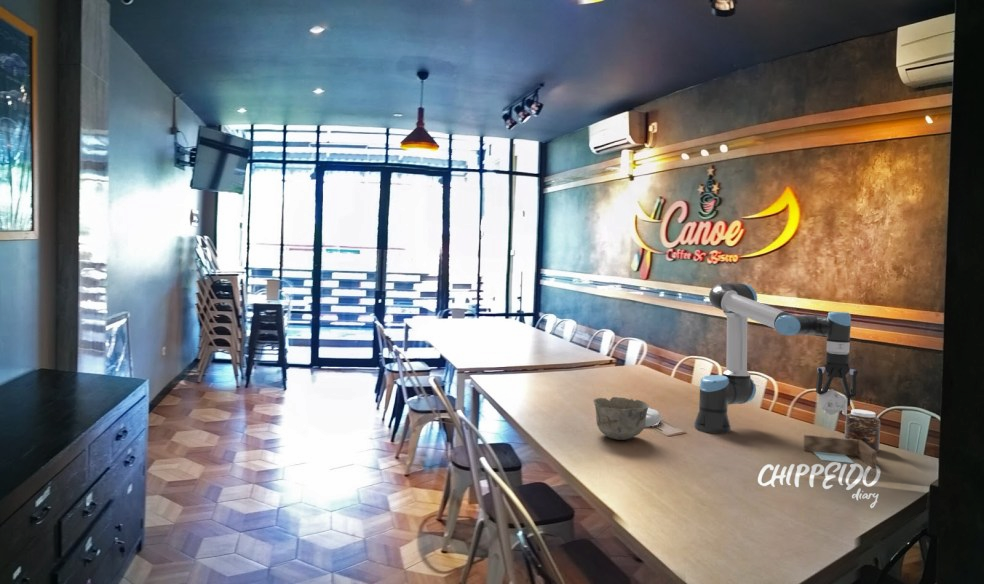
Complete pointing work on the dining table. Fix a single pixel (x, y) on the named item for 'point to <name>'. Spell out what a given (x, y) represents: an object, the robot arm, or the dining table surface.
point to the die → (831, 402)
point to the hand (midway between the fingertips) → (834, 413)
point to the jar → (863, 427)
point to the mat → (833, 457)
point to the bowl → (620, 417)
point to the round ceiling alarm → (652, 417)
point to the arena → (841, 447)
